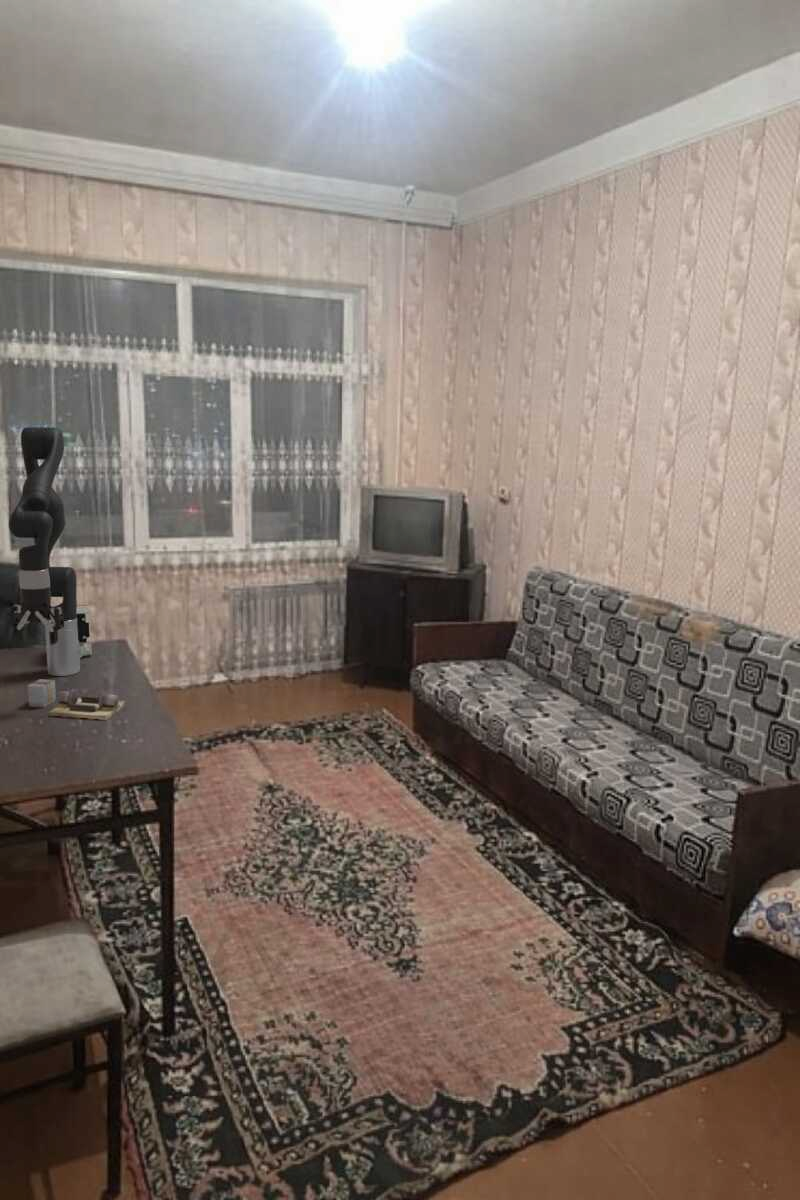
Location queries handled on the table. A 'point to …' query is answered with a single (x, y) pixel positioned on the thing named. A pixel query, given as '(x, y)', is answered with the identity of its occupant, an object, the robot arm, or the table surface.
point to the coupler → (41, 693)
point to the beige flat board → (86, 705)
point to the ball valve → (83, 630)
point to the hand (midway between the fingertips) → (38, 643)
